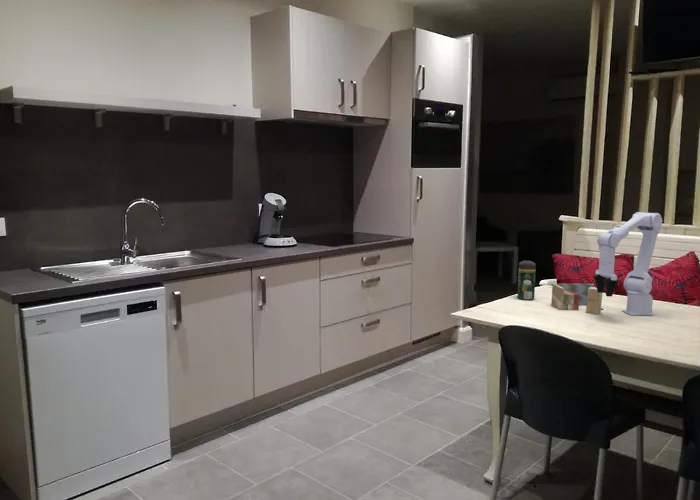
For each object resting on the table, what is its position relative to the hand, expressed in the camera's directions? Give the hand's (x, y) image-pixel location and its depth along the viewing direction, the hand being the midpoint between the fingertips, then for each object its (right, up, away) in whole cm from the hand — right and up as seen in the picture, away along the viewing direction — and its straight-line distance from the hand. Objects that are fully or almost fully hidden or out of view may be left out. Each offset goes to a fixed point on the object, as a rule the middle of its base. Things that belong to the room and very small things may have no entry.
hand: (604, 294), depth 229 cm
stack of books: (-3, -8, +21) cm, 23 cm away
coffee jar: (-20, -5, +40) cm, 45 cm away
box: (0, -9, +11) cm, 15 cm away
